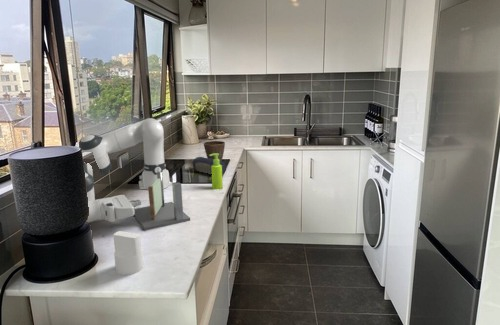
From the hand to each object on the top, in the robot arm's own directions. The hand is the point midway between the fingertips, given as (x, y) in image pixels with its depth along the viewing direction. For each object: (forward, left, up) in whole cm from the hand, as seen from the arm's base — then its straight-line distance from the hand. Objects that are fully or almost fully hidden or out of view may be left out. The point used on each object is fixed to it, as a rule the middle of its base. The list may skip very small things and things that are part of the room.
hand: (140, 202), depth 158 cm
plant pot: (-76, +71, -9) cm, 105 cm away
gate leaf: (-2, +7, -7) cm, 10 cm away
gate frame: (-1, +8, -9) cm, 12 cm away
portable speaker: (-57, +58, -9) cm, 82 cm away
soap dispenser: (-25, +48, -9) cm, 55 cm away
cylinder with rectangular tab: (+39, -14, -9) cm, 42 cm away
